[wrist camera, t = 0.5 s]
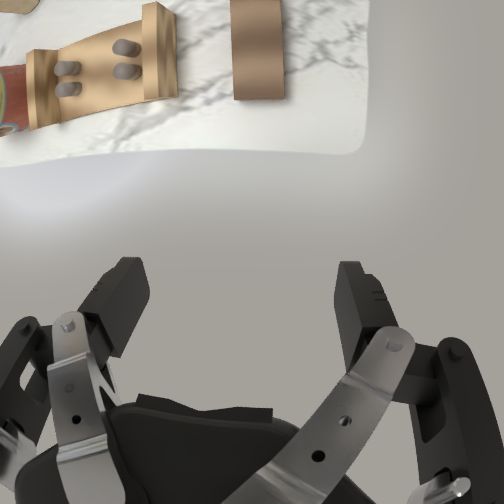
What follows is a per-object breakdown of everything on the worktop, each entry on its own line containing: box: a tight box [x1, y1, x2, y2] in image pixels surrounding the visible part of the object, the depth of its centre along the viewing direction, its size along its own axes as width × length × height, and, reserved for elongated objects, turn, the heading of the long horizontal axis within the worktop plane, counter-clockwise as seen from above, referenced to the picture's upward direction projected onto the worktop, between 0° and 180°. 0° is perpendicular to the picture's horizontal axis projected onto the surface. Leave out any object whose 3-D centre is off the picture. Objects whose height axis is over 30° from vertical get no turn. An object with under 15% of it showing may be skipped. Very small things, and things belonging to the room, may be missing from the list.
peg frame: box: [26, 1, 178, 131], centre depth 25 cm, size 11×19×6 cm, turn 92°
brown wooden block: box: [230, 0, 284, 100], centre depth 24 cm, size 13×5×4 cm, turn 2°
